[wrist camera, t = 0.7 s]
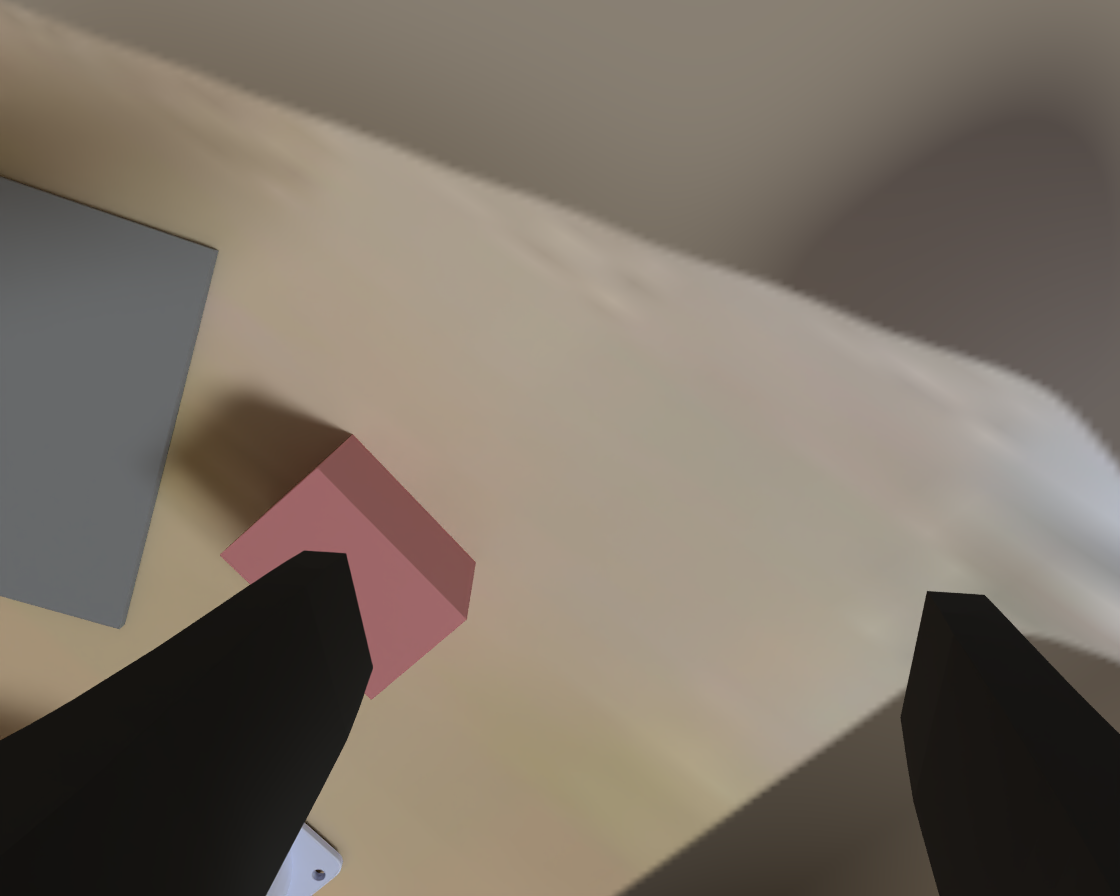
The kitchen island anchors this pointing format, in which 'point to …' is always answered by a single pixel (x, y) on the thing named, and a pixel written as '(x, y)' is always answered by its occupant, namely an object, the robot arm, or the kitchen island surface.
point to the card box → (369, 555)
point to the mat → (87, 394)
